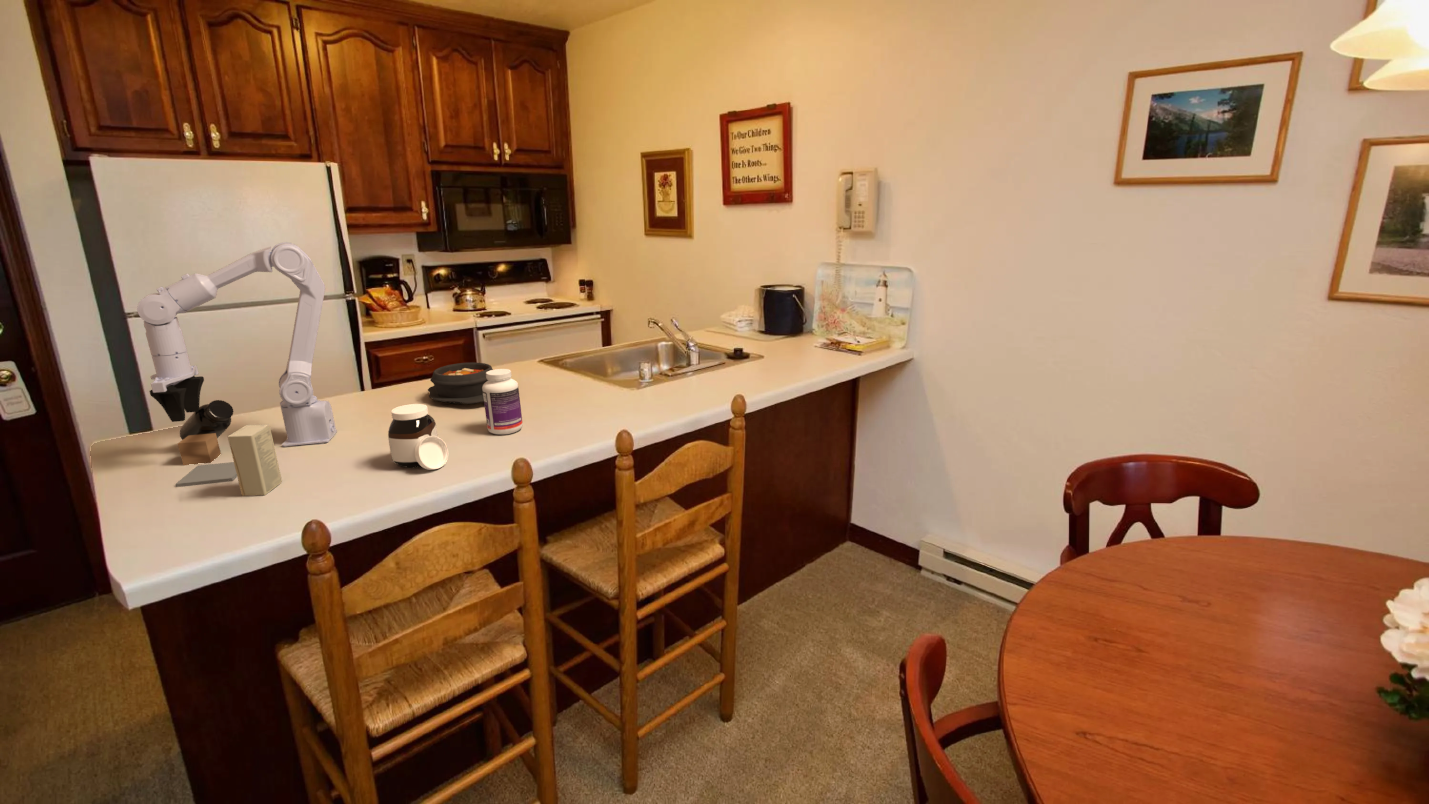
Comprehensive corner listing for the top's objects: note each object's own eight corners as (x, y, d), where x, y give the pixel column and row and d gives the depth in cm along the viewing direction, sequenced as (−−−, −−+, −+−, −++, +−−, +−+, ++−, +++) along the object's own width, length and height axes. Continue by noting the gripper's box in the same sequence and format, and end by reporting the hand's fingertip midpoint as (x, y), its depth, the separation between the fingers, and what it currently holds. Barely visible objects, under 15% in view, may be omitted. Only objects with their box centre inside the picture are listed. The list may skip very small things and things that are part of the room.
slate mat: (250, 462, 138) (250, 460, 138) (232, 480, 130) (231, 478, 130) (198, 468, 136) (197, 465, 136) (176, 486, 127) (175, 483, 127)
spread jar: (410, 452, 143) (402, 401, 140) (462, 452, 143) (455, 401, 140) (382, 474, 132) (373, 419, 129) (438, 474, 132) (430, 419, 128)
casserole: (521, 398, 181) (518, 369, 179) (459, 415, 168) (454, 383, 165) (473, 383, 197) (469, 355, 194) (412, 397, 183) (407, 368, 180)
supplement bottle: (195, 454, 145) (219, 428, 140) (170, 431, 143) (193, 404, 138) (222, 439, 151) (246, 413, 146) (198, 417, 149) (221, 390, 144)
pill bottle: (530, 427, 158) (524, 369, 154) (507, 438, 151) (500, 377, 147) (504, 422, 161) (497, 366, 157) (480, 433, 154) (472, 374, 150)
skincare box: (260, 483, 129) (246, 424, 125) (283, 482, 129) (270, 423, 125) (240, 497, 123) (225, 435, 119) (265, 496, 123) (251, 435, 119)
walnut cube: (221, 454, 144) (215, 433, 142) (211, 463, 139) (205, 441, 137) (194, 457, 142) (188, 435, 141) (183, 465, 138) (177, 443, 136)
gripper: (164, 346, 140) (180, 407, 144) (126, 362, 126) (144, 429, 130) (203, 344, 142) (217, 405, 146) (169, 360, 128) (186, 425, 132)
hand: (185, 416), depth 138 cm, fingers open, 6 cm apart
